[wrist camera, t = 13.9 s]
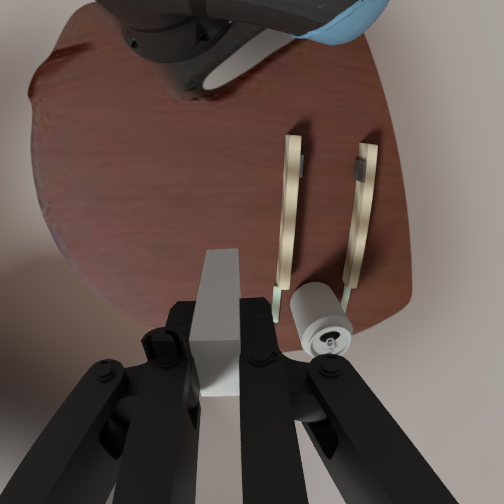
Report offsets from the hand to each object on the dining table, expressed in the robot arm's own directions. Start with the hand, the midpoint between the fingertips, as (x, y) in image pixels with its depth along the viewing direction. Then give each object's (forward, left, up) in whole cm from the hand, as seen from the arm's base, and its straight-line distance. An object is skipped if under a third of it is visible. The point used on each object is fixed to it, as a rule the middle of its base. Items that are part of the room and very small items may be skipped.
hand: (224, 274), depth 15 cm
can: (+18, +13, -27) cm, 36 cm away
